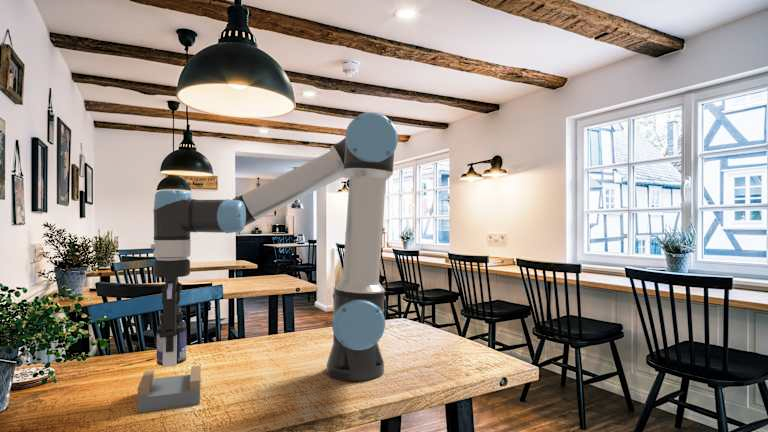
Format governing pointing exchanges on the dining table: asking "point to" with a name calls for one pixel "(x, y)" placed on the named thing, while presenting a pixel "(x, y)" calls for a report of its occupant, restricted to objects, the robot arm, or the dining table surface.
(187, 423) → the dining table surface
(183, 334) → the pill bottle
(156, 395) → the display plinth
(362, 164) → the robot arm
